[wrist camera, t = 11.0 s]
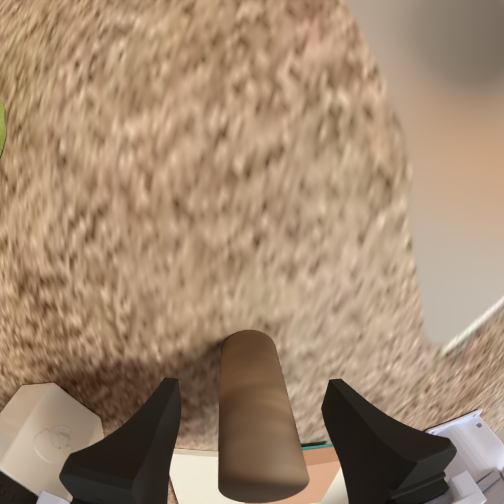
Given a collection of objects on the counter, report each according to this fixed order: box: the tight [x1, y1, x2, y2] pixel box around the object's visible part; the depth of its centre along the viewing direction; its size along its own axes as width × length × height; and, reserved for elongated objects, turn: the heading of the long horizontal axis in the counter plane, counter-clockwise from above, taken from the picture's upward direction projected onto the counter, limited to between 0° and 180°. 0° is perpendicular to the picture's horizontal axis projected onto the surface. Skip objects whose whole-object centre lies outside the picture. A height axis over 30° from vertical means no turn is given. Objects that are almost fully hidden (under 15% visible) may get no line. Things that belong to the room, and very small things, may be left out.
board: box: [169, 448, 349, 504], centre depth 20 cm, size 20×14×1 cm
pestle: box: [218, 330, 310, 503], centre depth 12 cm, size 3×3×9 cm
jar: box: [0, 382, 104, 504], centre depth 11 cm, size 9×8×12 cm
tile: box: [244, 444, 341, 504], centre depth 18 cm, size 7×2×8 cm
